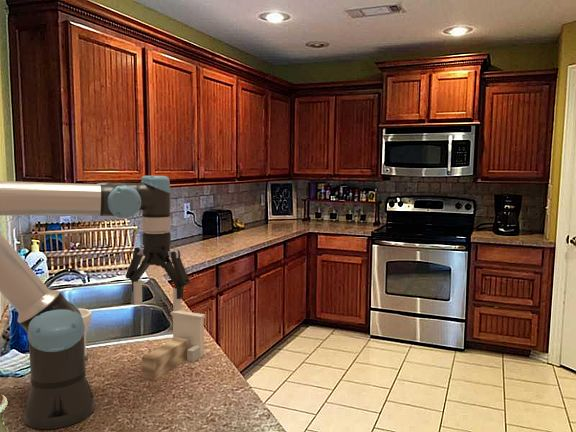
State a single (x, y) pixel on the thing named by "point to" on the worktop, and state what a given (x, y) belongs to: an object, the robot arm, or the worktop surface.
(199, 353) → the headboard
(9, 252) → the robot arm
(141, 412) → the worktop surface
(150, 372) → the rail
